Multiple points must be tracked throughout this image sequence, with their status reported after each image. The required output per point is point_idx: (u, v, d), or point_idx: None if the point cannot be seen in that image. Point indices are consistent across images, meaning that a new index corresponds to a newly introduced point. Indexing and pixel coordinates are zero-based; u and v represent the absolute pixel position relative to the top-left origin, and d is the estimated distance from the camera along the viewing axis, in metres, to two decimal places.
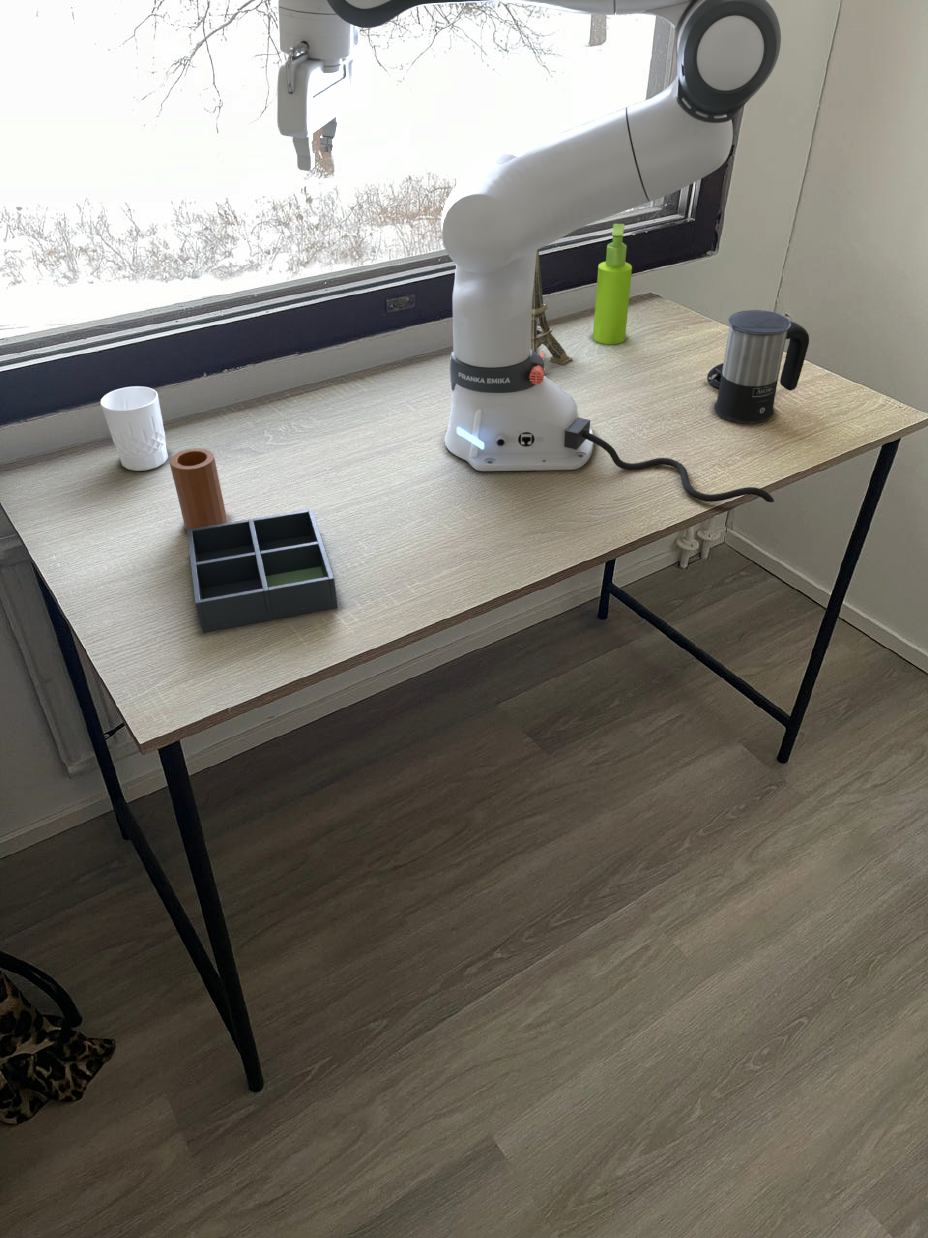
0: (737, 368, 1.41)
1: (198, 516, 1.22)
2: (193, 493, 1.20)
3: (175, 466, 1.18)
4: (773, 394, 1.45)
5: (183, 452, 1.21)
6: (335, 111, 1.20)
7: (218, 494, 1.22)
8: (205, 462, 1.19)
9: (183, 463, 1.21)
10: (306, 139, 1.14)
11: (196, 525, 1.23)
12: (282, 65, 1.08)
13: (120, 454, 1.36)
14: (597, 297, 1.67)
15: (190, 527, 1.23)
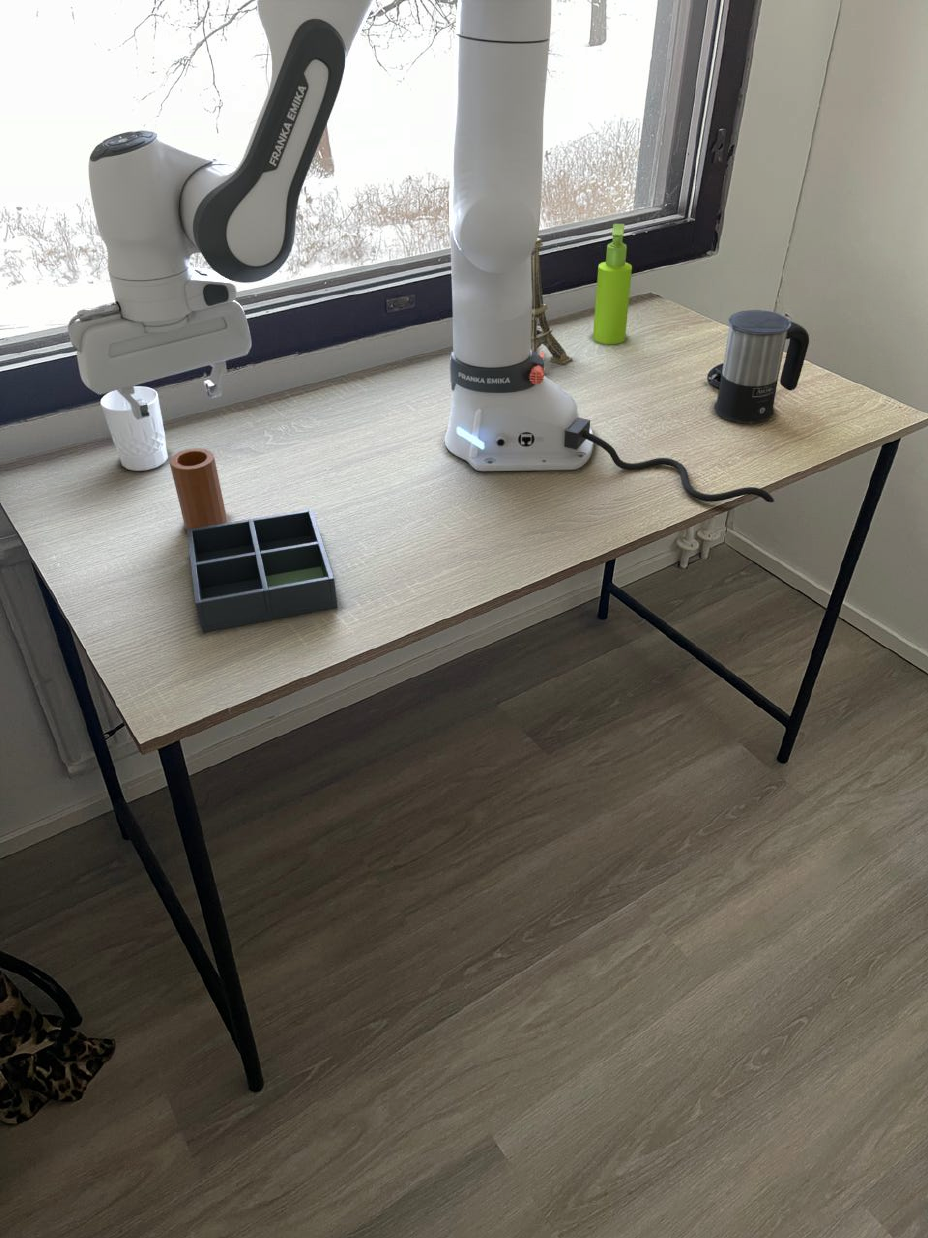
0: (737, 368, 1.41)
1: (198, 516, 1.22)
2: (193, 493, 1.20)
3: (175, 466, 1.18)
4: (773, 394, 1.45)
5: (183, 452, 1.21)
6: (194, 364, 1.11)
7: (218, 494, 1.22)
8: (205, 462, 1.19)
9: (183, 463, 1.21)
10: (121, 392, 1.09)
11: (196, 525, 1.23)
12: None
13: (120, 454, 1.36)
14: (597, 297, 1.67)
15: (190, 527, 1.23)
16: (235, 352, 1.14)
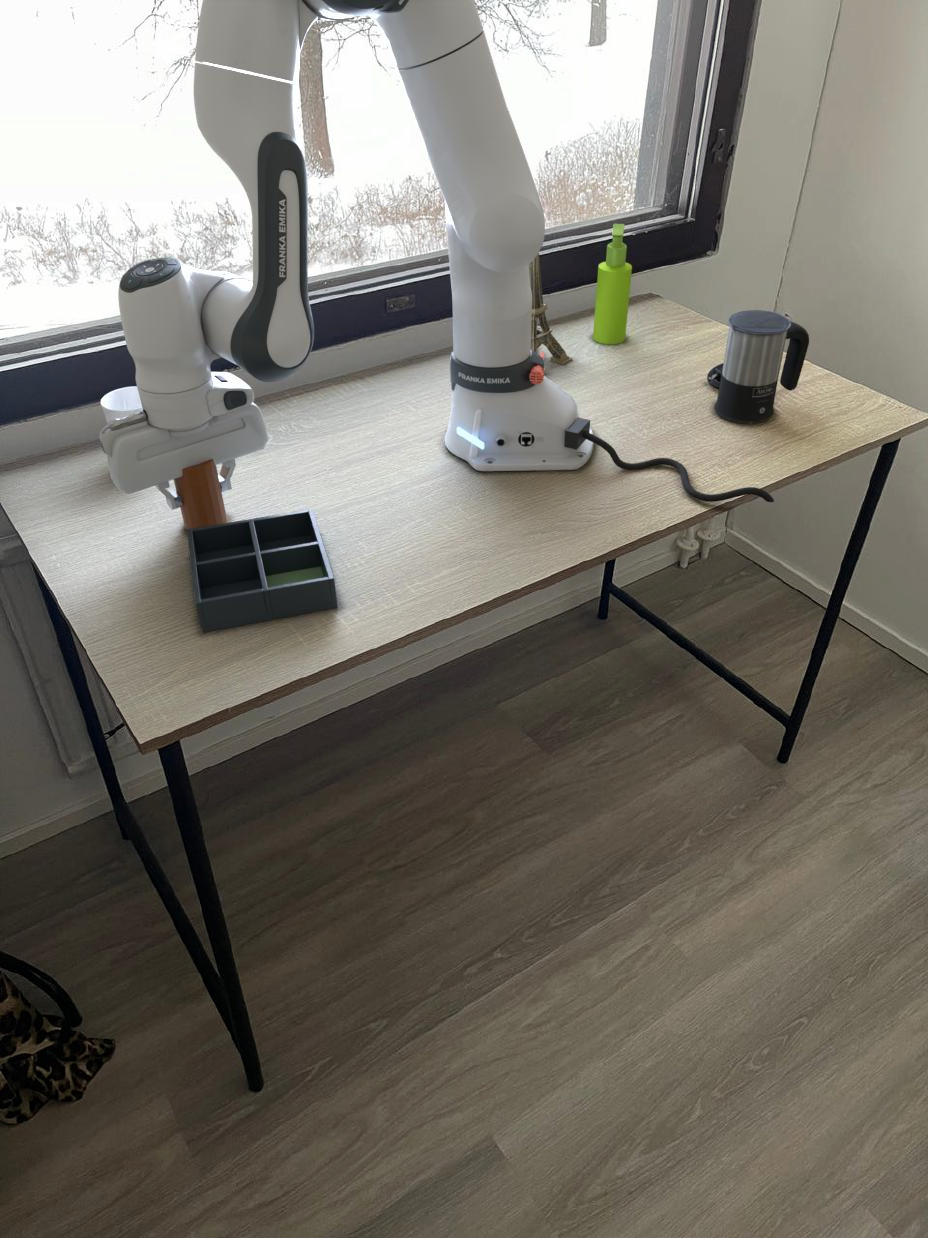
0: (737, 368, 1.41)
1: (198, 516, 1.22)
2: (193, 493, 1.20)
3: None
4: (773, 394, 1.45)
5: None
6: (214, 461, 1.20)
7: (217, 494, 1.22)
8: (205, 462, 1.19)
9: None
10: (158, 487, 1.18)
11: (196, 525, 1.23)
12: None
13: None
14: (597, 297, 1.67)
15: (190, 527, 1.23)
16: (253, 447, 1.22)
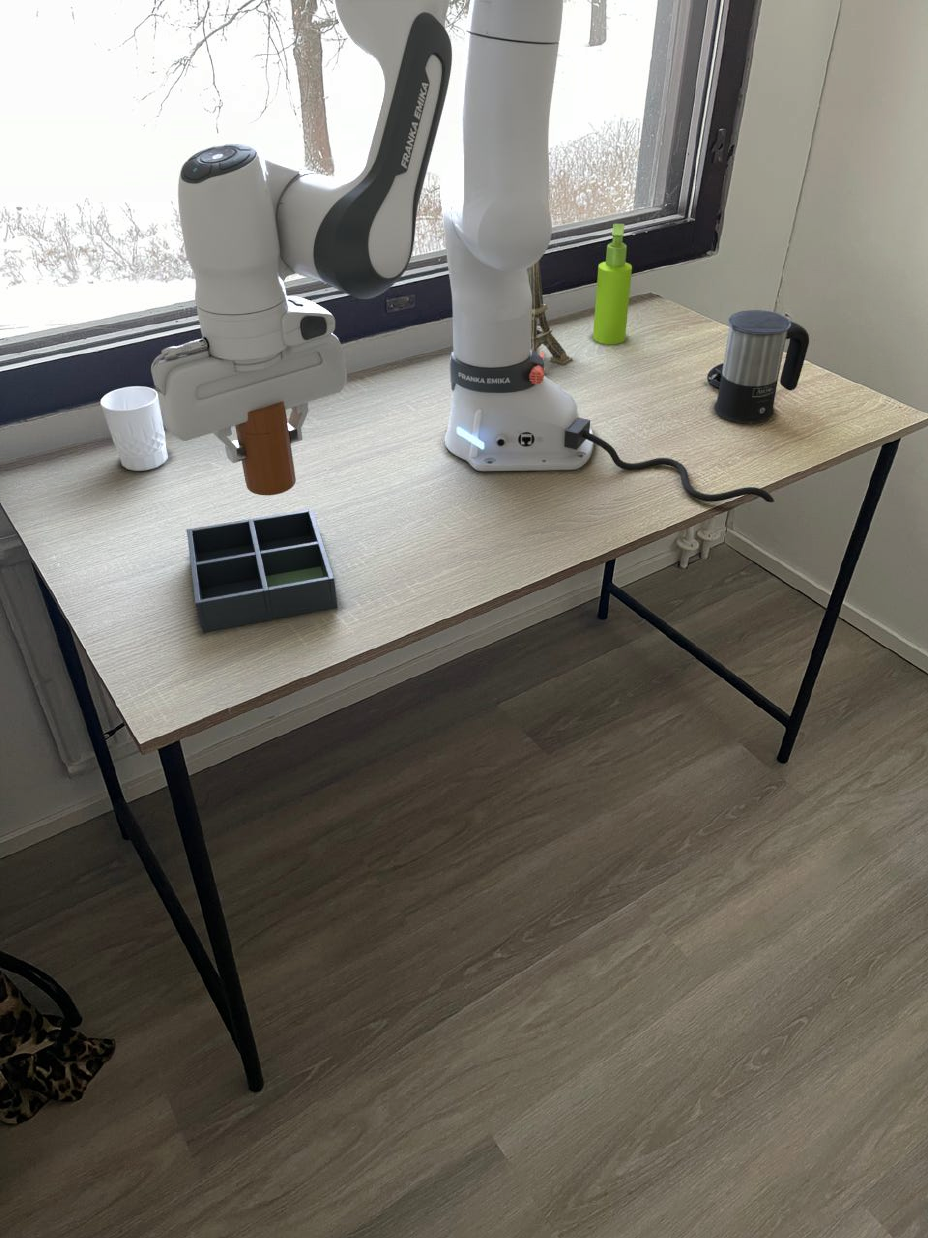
0: (737, 368, 1.41)
1: (264, 471, 1.01)
2: (259, 443, 0.99)
3: None
4: (773, 394, 1.45)
5: None
6: (285, 404, 0.99)
7: (287, 445, 1.02)
8: (274, 405, 0.98)
9: None
10: (218, 434, 0.98)
11: (261, 482, 1.02)
12: None
13: (120, 454, 1.36)
14: (597, 297, 1.67)
15: (253, 485, 1.03)
16: (329, 389, 1.02)
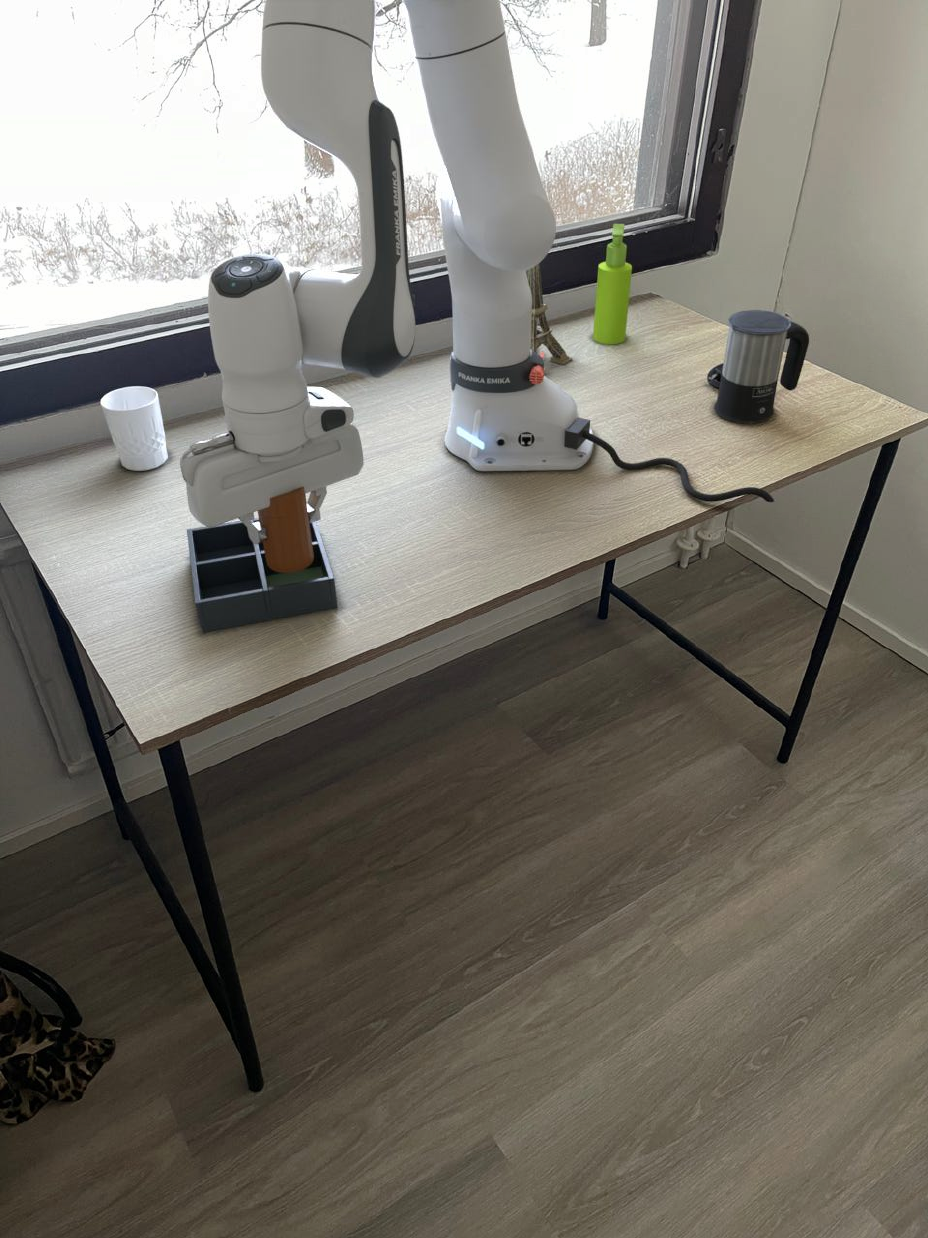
0: (737, 368, 1.41)
1: (284, 551, 1.06)
2: (280, 526, 1.04)
3: None
4: (773, 394, 1.45)
5: None
6: (305, 489, 1.04)
7: (306, 526, 1.06)
8: (295, 490, 1.03)
9: None
10: (241, 519, 1.02)
11: (281, 561, 1.07)
12: None
13: (120, 454, 1.36)
14: (597, 297, 1.67)
15: (273, 563, 1.08)
16: (347, 473, 1.07)
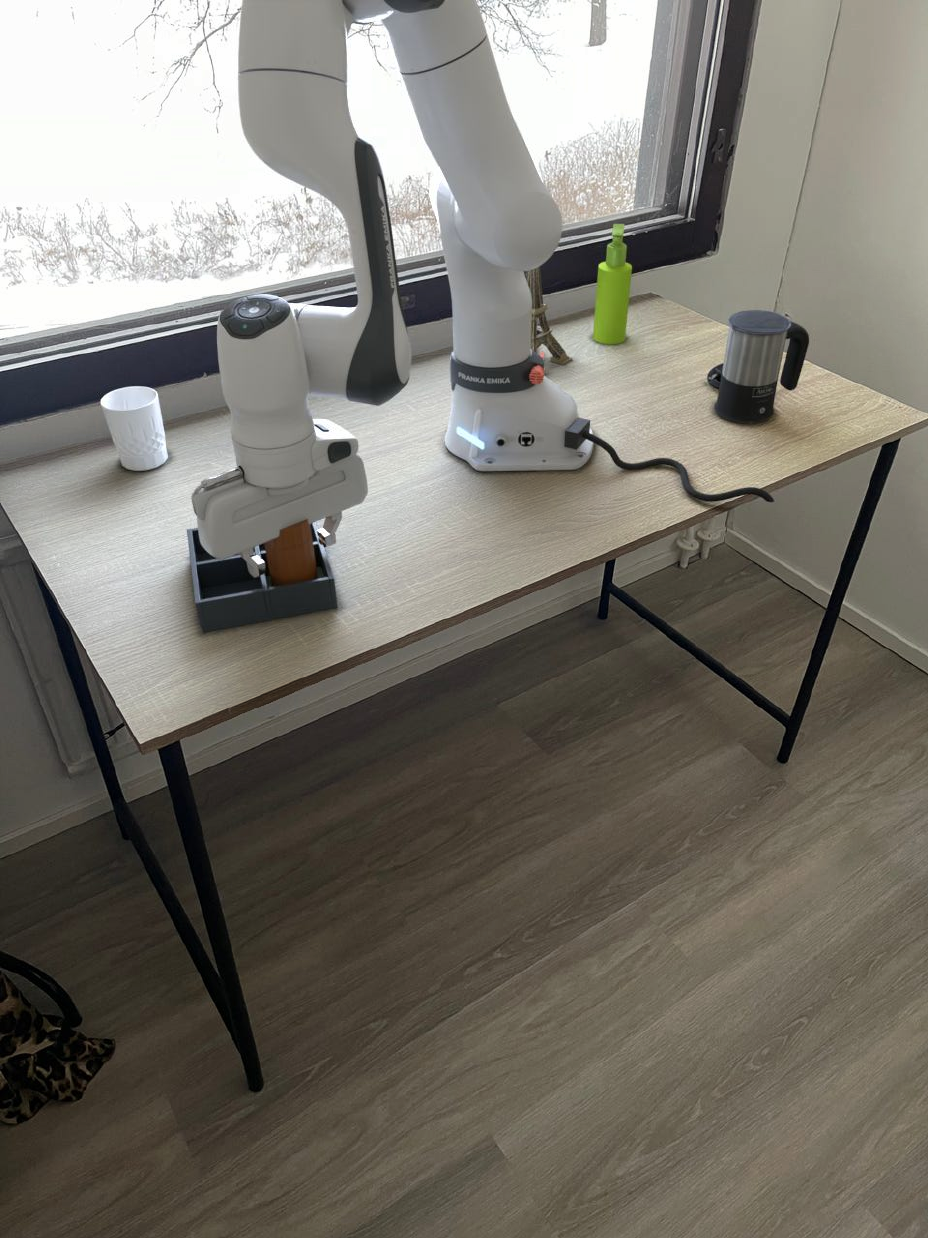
0: (737, 368, 1.41)
1: (290, 580, 1.09)
2: (287, 556, 1.07)
3: None
4: (773, 394, 1.45)
5: None
6: (312, 518, 1.07)
7: (312, 555, 1.09)
8: None
9: None
10: (241, 554, 1.04)
11: None
12: None
13: (120, 454, 1.36)
14: (597, 297, 1.67)
15: None
16: (352, 502, 1.09)
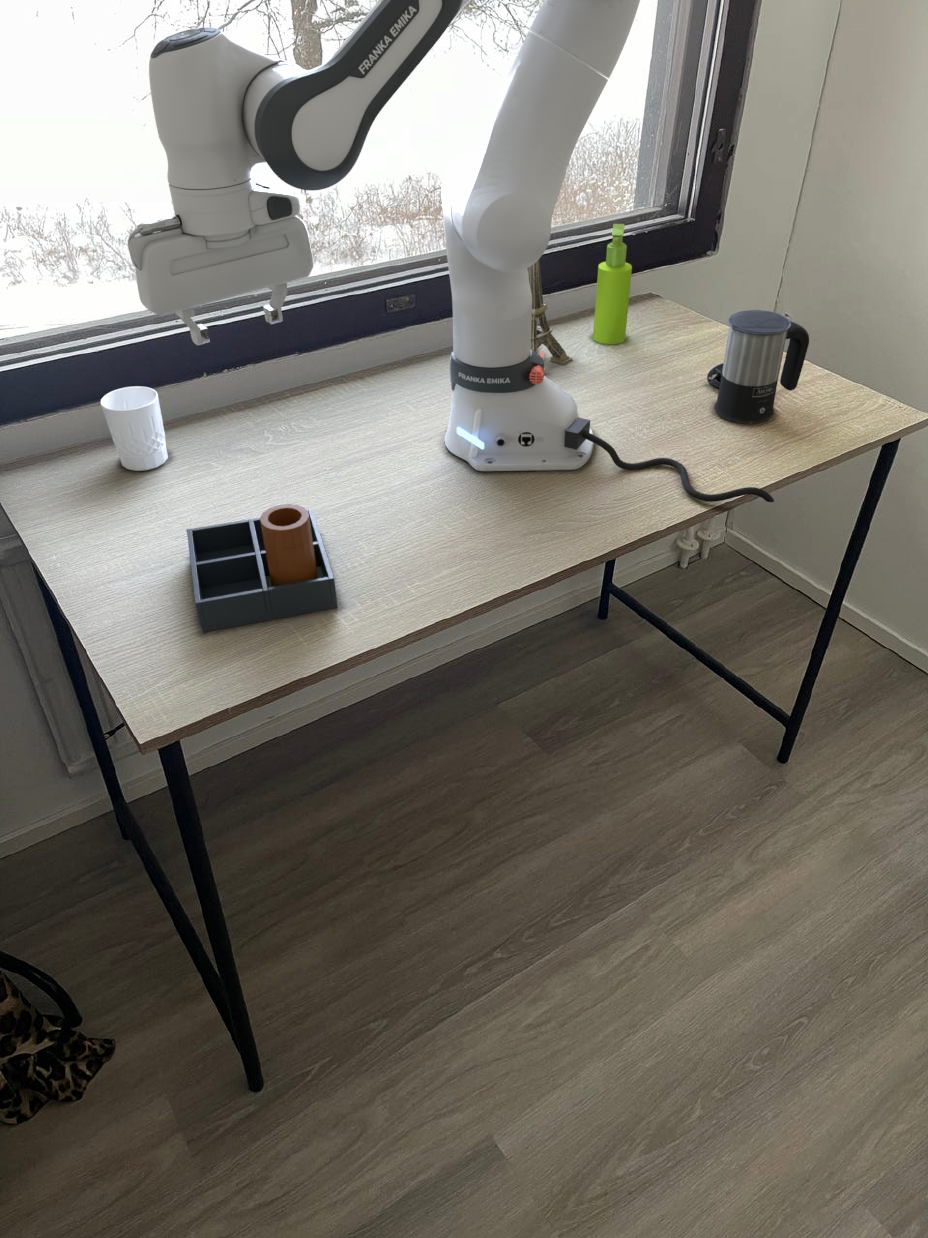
0: (737, 368, 1.41)
1: (290, 580, 1.09)
2: (287, 556, 1.07)
3: (268, 527, 1.05)
4: (773, 394, 1.45)
5: (273, 509, 1.08)
6: (255, 284, 1.06)
7: (312, 555, 1.09)
8: (300, 521, 1.06)
9: (273, 521, 1.08)
10: (182, 315, 1.04)
11: None
12: None
13: (120, 454, 1.36)
14: (597, 297, 1.67)
15: None
16: (297, 273, 1.09)
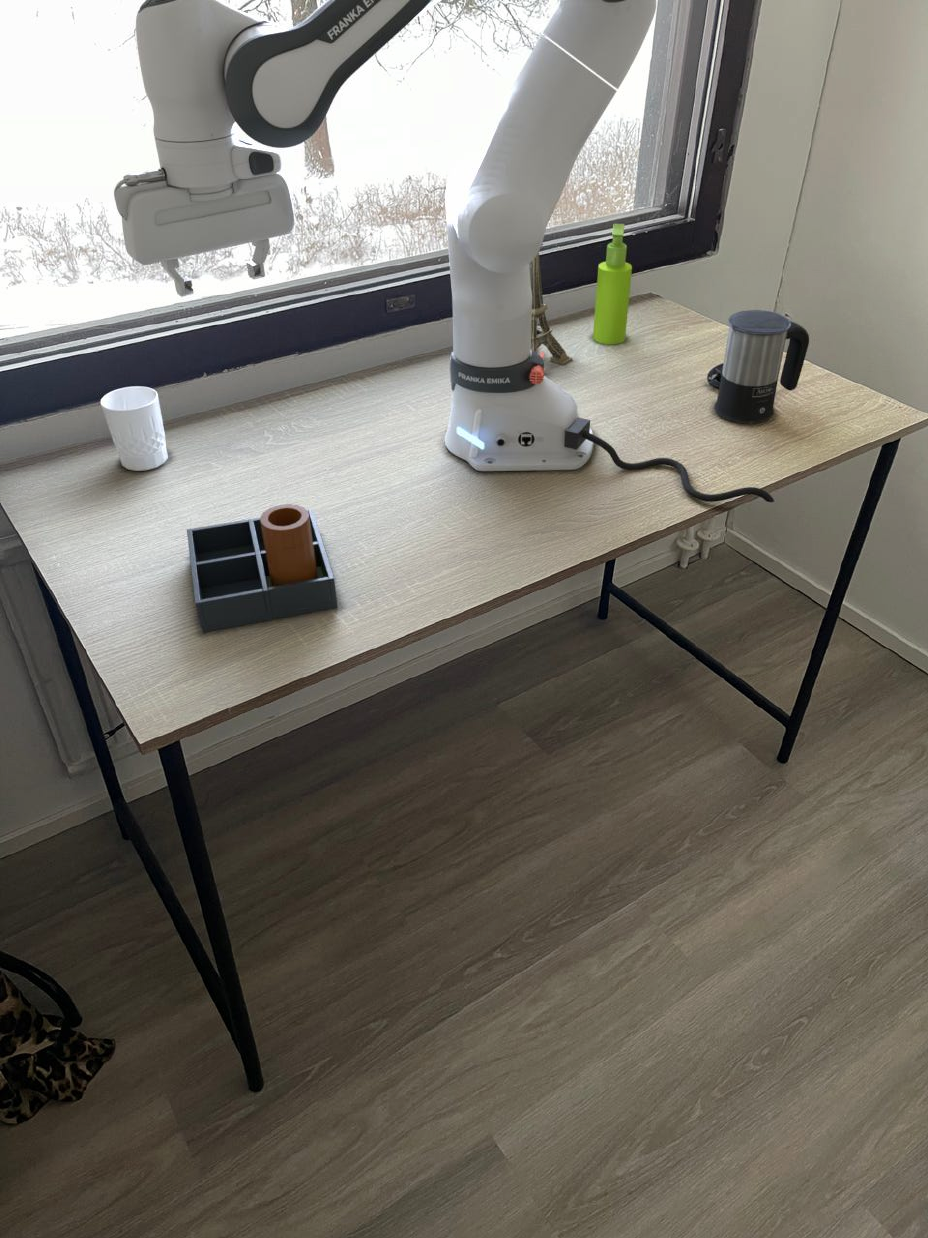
0: (737, 368, 1.41)
1: (290, 580, 1.09)
2: (287, 556, 1.07)
3: (268, 527, 1.05)
4: (773, 394, 1.45)
5: (273, 509, 1.08)
6: (238, 239, 1.10)
7: (312, 555, 1.09)
8: (300, 521, 1.06)
9: (273, 521, 1.08)
10: (166, 265, 1.08)
11: None
12: None
13: (120, 454, 1.36)
14: (597, 297, 1.67)
15: None
16: (279, 229, 1.13)
